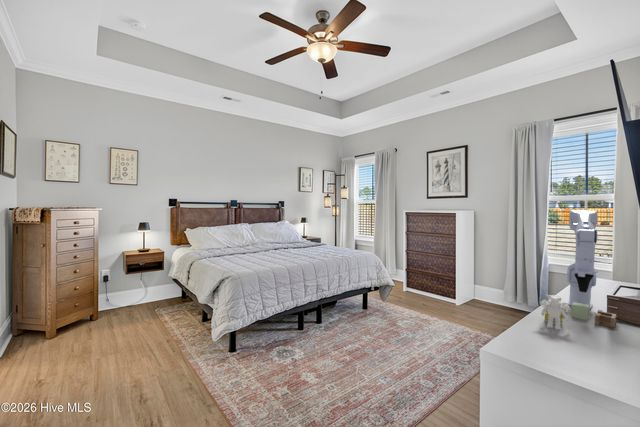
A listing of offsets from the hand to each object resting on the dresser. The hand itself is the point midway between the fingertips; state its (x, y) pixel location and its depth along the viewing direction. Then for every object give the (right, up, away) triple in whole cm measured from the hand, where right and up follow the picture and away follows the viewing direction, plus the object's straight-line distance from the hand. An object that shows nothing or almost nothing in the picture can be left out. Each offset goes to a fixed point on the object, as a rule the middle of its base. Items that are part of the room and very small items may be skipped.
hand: (583, 291), depth 127 cm
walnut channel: (-3, -9, -5) cm, 11 cm away
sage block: (-3, -10, -3) cm, 10 cm away
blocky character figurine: (-23, -10, -15) cm, 29 cm away
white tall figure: (-19, -9, -9) cm, 23 cm away
